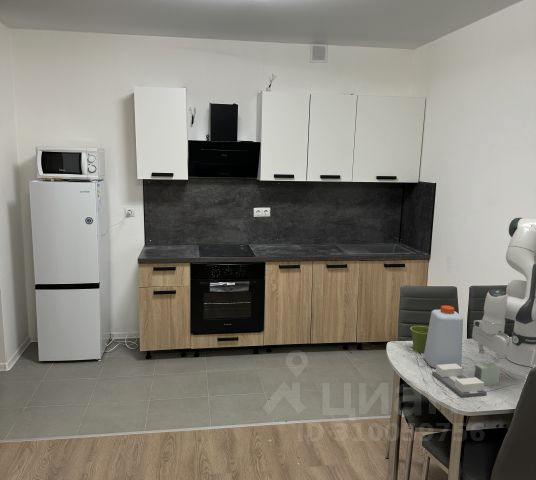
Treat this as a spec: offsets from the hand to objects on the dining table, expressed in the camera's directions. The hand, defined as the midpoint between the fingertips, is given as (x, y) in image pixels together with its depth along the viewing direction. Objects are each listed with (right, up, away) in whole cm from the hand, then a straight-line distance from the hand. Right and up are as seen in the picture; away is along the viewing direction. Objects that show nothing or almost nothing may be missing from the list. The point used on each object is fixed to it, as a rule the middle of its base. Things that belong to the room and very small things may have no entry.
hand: (488, 357), depth 206 cm
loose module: (0, -11, +2) cm, 12 cm away
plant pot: (-18, -5, +35) cm, 40 cm away
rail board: (-14, -11, -1) cm, 18 cm away
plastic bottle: (-13, -8, +20) cm, 25 cm away
